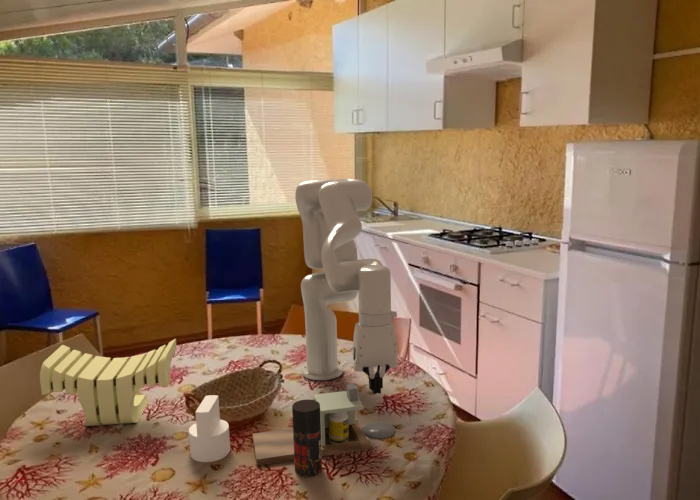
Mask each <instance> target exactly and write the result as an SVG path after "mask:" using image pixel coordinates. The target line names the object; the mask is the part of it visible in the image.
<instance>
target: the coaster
mask: <svg viewBox="0 0 700 500" xmlns="http://www.w3.org/2000/svg"><path fill="white" fill-rule="evenodd" d="M362 430H363V432H364V434H365V436H366V437H368V438H371V439H374V440H375V439H379V440H380V439H381V440H382V439H387V438H391V437H392V436H393V435H394V434H395V433H396V427H395V425H393V424H392V423H389V422H387V421H381V420H380V421H371V422H368V423H366V424H365V425H364V426H362Z"/></svg>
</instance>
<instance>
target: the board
mask: <svg viewBox="0 0 700 500" xmlns="http://www.w3.org/2000/svg"><path fill="white" fill-rule="evenodd" d="M349 431H351V432H352V434H353V436H354V438H355V440H354V441H353V440H352V441H348V442H344V443H337V444H332V443H331V444H326V443H325V446H322V445H321V451H322V457H326V456H333V455H341V454H347V453H354V452H359V451H360V452H361V451H369V450H371V449H370V448H371V443H370V441H369V438H367V437H368V436H366V435H365V434H364V432H363V427H361V425H360V423H359V421H358V420H357V419H355V424H351V425H349ZM326 434H328V435H329V428H325V435H326ZM252 442H253V448H254V454H255V455H254V456H255V460H256V466H257V467H258V466H265V465H271V464H277V463H283V462H284V463H286V462H290V461H292V462H293V461H294V438H293V428H287V429H278V430H272V431H270V430H269V431H263V432H256V433H252Z"/></svg>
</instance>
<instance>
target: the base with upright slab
mask: <svg viewBox="0 0 700 500" xmlns="http://www.w3.org/2000/svg"><path fill="white" fill-rule="evenodd" d="M188 437H189V438H188V439H189V450H190V457H191V458H192V460H194V461H196V462H199V463H211V462H216V461H219V460H222V459H224V458H226V456H228V455H229V454H230V452H231V441H230V440H231V439H230V437H231V436H230V426H229V423H228V422H227V421H226V420H224V419H221V416H220V401H219V395H215V394H213V395H212V394H211V395H205V396H204V398H203V399H202V401H201V403H200V404H199V406H198V407H197V408H196V410H195V423H193V424H192V425H190V427H189V429H188Z"/></svg>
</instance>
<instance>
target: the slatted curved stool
mask: <svg viewBox="0 0 700 500" xmlns="http://www.w3.org/2000/svg"><path fill="white" fill-rule="evenodd" d="M177 349H178V347H177V338H174V339H172V340H171V341H169V342H168V344H167V345H166V344H163V345H161V346H160V347H158V349H157V350H156V349H152V350H150V351H148V353H146V352H143V353H140V354H137V355H132V356H131V357H130V359H129V357H128V356H125V357H114V358H111V357H106V356H99V355H95V356H93V354H90V353H86V352H85V353H84V354H82V351H80V350H77V349H72V351H71V347H70V346H67V345H65V344H62V345H60V346H59V347H58V348H57V349H56V350H55V351H54V352H53V353H51V355H49V356H47V357H48V358H46V359H45V360H44V361H43V362H42V363H41V364H42V365H40V366H41V367H40V372H39V381H40V391H41V395H42V396H44V395H48V394H51V392H52V391H53V393H62V392H63V391H65V393H66V394H70V395H72V396H75V395H76V394H77V399H78V402H79V404H80V405H81V408H82V410H83V413H84V417H85V426H86V427H91V426H93V427H94V426H101V425H103V426H104V425H105V426H106V425H107V426H108V425H119V424H135V423H139V422H140V420H141V418H142V417H141V415H142V413H143V411H144V409H145V407H146V405H147V403H148V402H149V403H150V401H149V400H150V399H149V398H148V397H147V395H146V394H136V393H137V392H138V391H140V390H141V389H144V388H145V386H146V387H148V388H149V387H156V385H157V384H158V387H162V388H167V387H168V385H169V384H170V381H171V365H172V360H173V357H174V355H175V352H176V350H177ZM111 359H112V360H111ZM149 403H148V404H149ZM147 406H148V405H147ZM146 408H147V407H146ZM145 410H146V409H145ZM144 412H145V411H144ZM143 414H144V413H143ZM142 416H143V415H142ZM140 417H141V418H140ZM139 419H140V420H139ZM138 421H139V422H138ZM101 423H102V424H101Z"/></svg>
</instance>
